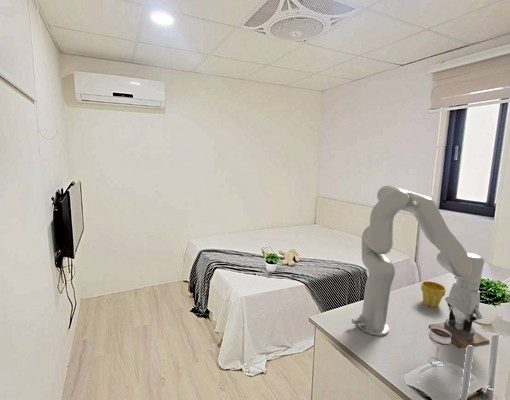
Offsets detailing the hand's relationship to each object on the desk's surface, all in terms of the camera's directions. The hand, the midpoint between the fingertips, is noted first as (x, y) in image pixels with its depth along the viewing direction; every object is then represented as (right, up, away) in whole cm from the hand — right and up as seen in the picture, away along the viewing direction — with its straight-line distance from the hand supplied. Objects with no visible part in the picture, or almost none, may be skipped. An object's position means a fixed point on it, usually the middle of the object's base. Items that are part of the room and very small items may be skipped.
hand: (459, 323), depth 121 cm
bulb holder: (0, -5, +1) cm, 5 cm away
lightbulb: (0, -3, 0) cm, 3 cm away
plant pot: (+3, -1, +25) cm, 26 cm away
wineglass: (-20, -7, -16) cm, 27 cm away
